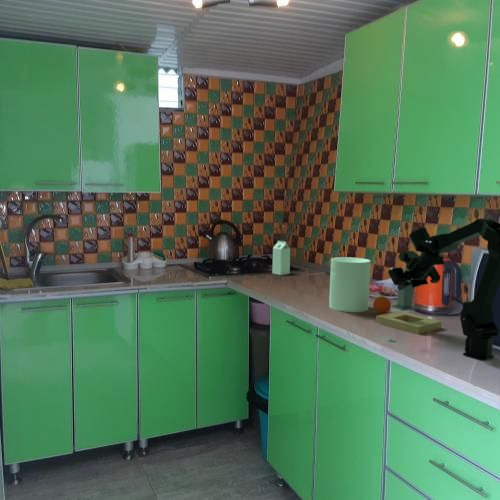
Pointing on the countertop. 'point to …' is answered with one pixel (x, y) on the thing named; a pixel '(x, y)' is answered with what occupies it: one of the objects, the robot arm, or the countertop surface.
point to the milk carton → (281, 258)
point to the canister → (349, 284)
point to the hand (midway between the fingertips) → (402, 288)
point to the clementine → (382, 305)
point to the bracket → (405, 298)
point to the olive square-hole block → (408, 322)
